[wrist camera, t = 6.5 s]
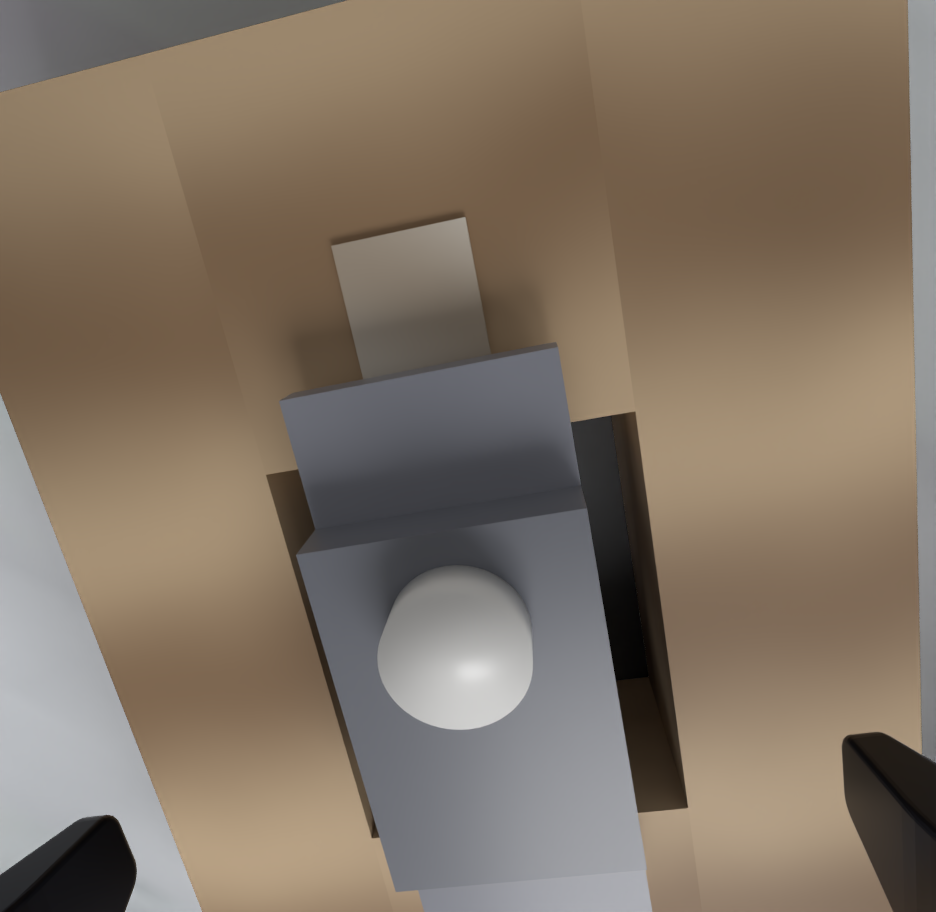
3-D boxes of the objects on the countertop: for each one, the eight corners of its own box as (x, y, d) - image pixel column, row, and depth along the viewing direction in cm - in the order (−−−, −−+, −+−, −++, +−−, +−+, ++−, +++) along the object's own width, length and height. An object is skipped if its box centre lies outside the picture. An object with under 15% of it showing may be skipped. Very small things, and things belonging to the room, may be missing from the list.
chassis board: (836, 867, 17) (930, 1047, 13) (317, 910, 19) (264, 1079, 15) (781, -16, 12) (909, -152, 8) (70, 159, 14) (-112, 119, 10)
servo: (614, 720, 16) (673, 1020, 10) (456, 739, 17) (415, 1036, 10) (545, 316, 14) (566, 366, 7) (361, 353, 14) (228, 430, 8)
